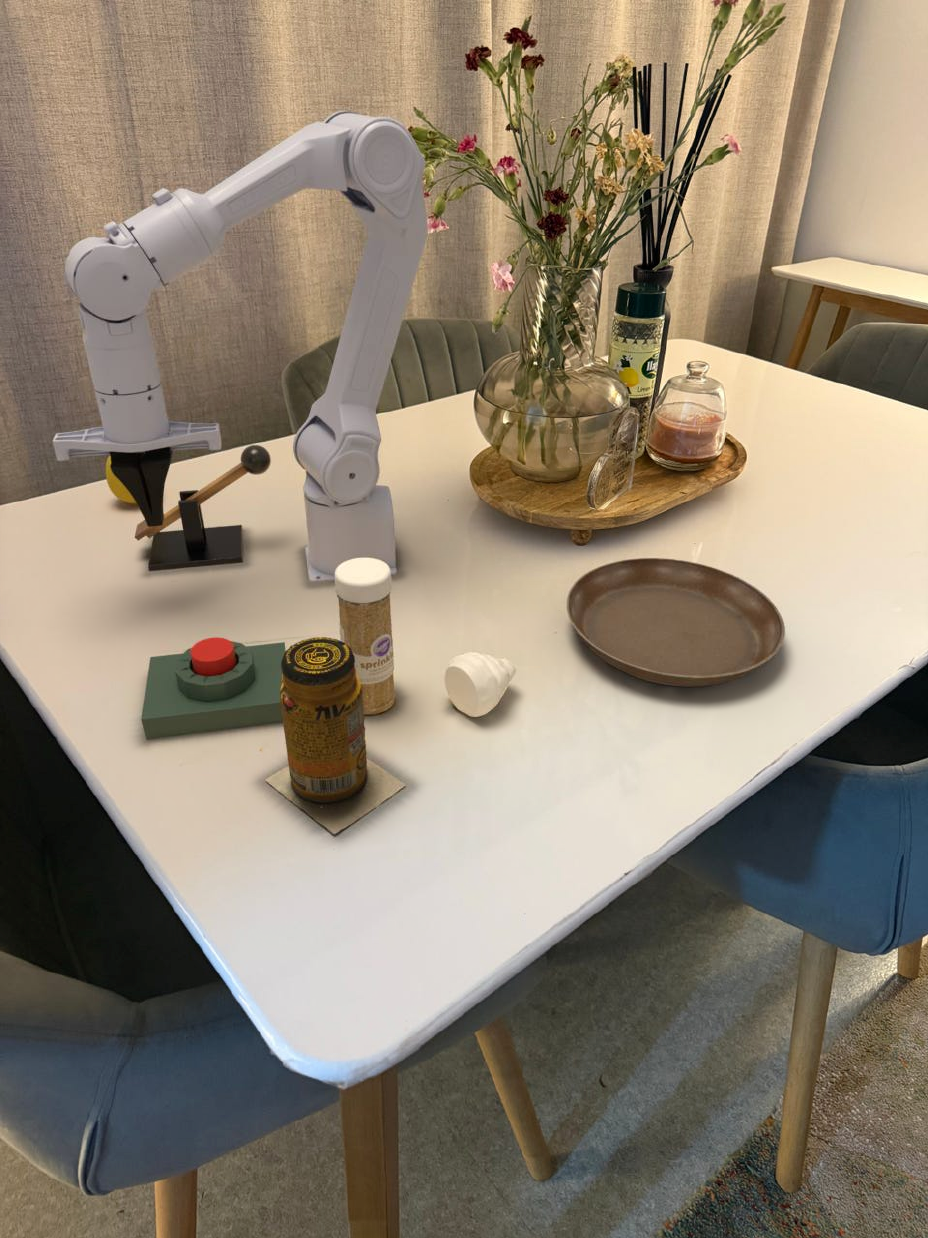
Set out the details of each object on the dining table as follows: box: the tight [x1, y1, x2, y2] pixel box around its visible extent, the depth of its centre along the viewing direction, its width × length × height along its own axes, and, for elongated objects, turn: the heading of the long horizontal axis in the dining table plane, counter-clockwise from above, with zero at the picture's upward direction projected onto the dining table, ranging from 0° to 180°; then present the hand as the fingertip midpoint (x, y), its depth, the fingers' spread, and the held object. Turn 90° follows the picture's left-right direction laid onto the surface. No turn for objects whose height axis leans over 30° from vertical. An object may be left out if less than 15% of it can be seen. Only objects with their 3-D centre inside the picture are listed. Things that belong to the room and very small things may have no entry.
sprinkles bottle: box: [334, 558, 397, 715], centre depth 75 cm, size 5×5×14 cm
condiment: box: [265, 636, 407, 835], centre depth 66 cm, size 7×8×12 cm
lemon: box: [105, 455, 138, 506], centre depth 109 cm, size 6×6×8 cm
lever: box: [134, 444, 272, 541], centre depth 98 cm, size 17×3×3 cm
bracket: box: [147, 489, 244, 572], centre depth 99 cm, size 10×8×7 cm
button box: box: [141, 640, 287, 740], centre depth 78 cm, size 12×9×4 cm
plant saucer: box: [566, 557, 786, 688], centre depth 86 cm, size 21×21×3 cm
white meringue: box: [444, 651, 517, 718], centre depth 77 cm, size 6×6×5 cm
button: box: [190, 636, 236, 677], centre depth 76 cm, size 4×4×2 cm
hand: (155, 521), depth 86 cm, fingers closed
